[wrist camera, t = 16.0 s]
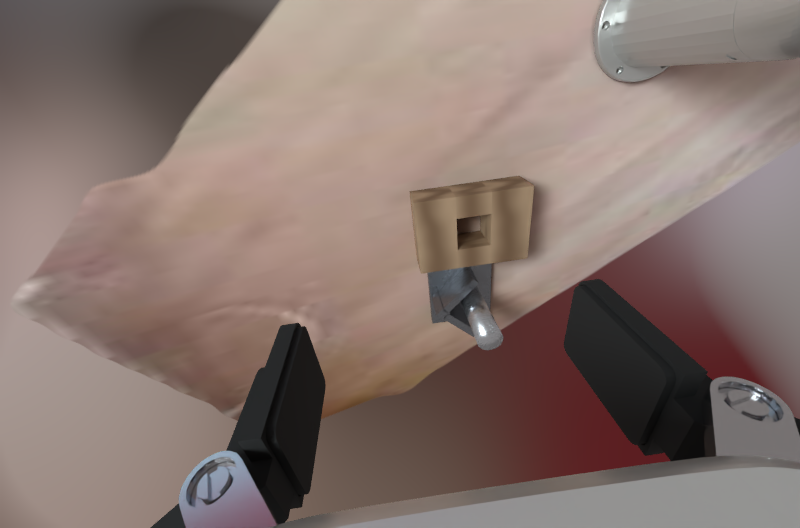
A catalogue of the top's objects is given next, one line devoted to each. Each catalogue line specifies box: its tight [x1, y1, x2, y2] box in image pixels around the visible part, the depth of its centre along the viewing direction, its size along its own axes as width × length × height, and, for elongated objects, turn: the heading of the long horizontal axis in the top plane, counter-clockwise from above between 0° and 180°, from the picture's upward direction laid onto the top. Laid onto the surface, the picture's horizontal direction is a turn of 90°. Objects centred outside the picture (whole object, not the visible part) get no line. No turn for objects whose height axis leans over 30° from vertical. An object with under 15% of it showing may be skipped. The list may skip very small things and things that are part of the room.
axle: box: [460, 286, 503, 350], centre depth 49 cm, size 4×4×12 cm
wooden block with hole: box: [410, 176, 534, 274], centre depth 46 cm, size 16×11×5 cm
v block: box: [428, 263, 492, 337], centre depth 53 cm, size 12×10×6 cm
